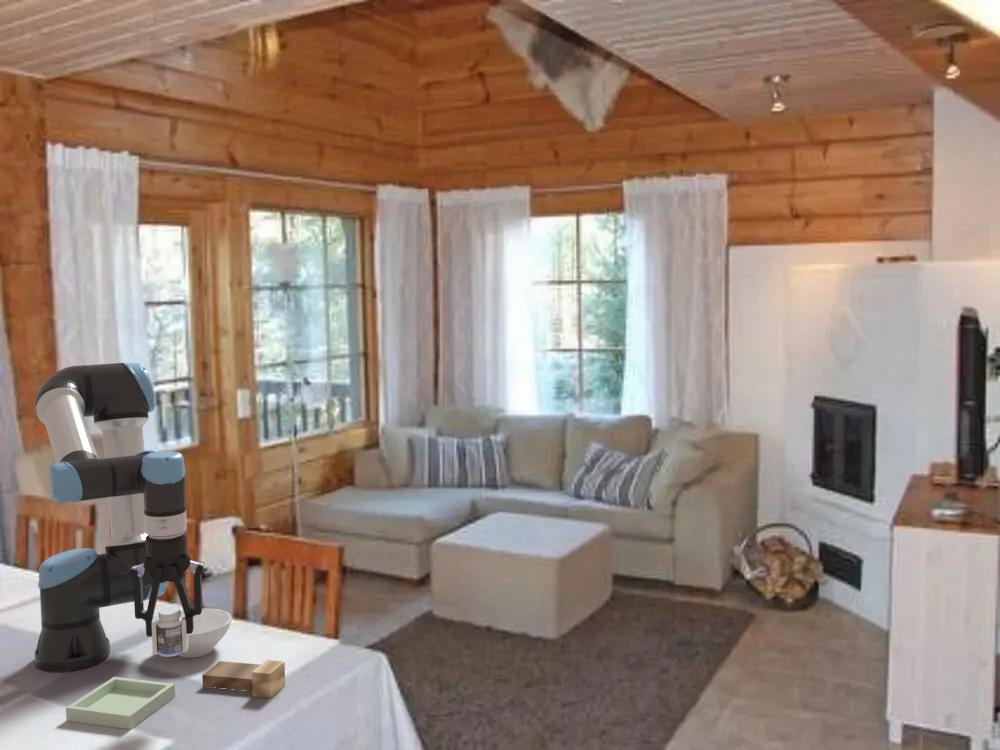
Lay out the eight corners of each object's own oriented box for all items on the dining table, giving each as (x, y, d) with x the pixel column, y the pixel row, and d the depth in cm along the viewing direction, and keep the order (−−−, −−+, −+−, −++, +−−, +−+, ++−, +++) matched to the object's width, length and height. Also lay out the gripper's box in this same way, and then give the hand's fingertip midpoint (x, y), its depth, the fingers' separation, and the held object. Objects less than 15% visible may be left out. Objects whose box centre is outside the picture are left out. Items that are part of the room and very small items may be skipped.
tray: (66, 720, 176) (65, 707, 176) (114, 688, 190) (114, 676, 190) (130, 729, 173) (129, 716, 173) (175, 696, 186) (174, 684, 186)
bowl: (162, 671, 198) (161, 640, 197) (152, 645, 212) (151, 615, 211) (239, 657, 205) (237, 626, 205) (224, 632, 219) (223, 603, 219)
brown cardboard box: (203, 689, 191) (202, 675, 190) (220, 674, 197) (219, 661, 197) (257, 694, 188) (256, 679, 188) (272, 679, 195) (272, 665, 195)
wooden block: (252, 695, 186) (251, 671, 186) (267, 683, 192) (266, 659, 191) (270, 698, 185) (270, 673, 185) (285, 685, 191) (284, 661, 190)
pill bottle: (155, 650, 181) (154, 608, 180) (181, 645, 183) (179, 604, 182) (160, 659, 177) (159, 616, 175) (186, 654, 179) (184, 612, 178)
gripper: (112, 542, 171) (118, 662, 174) (213, 537, 175) (216, 655, 178) (120, 530, 179) (125, 645, 182) (216, 525, 182) (220, 638, 185)
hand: (170, 650), depth 180 cm, fingers closed on pill bottle, 5 cm apart
